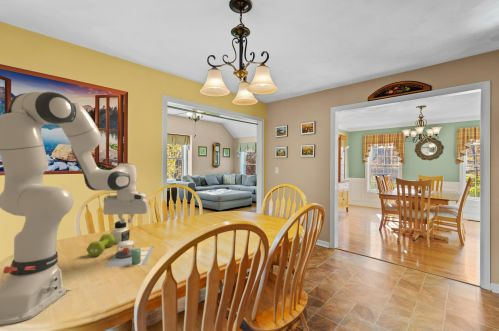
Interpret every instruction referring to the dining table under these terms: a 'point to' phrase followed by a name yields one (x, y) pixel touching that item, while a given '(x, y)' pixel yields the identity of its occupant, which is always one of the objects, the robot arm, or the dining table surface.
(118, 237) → the medicine bottle
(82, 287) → the dining table surface
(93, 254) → the dumbbell
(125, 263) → the game board
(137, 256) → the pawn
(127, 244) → the dome
